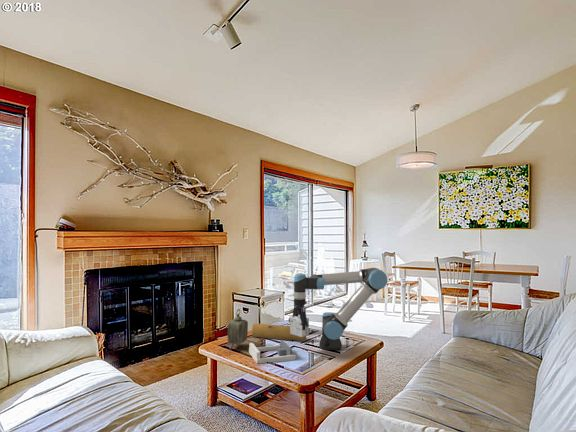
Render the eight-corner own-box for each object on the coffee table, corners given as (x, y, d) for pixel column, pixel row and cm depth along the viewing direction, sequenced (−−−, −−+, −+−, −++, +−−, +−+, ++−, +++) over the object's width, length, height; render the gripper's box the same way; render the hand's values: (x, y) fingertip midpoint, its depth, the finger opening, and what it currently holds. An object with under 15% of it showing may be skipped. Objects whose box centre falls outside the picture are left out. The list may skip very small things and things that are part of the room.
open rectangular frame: (284, 348, 233) (284, 339, 233) (295, 359, 214) (295, 349, 214) (248, 351, 225) (249, 342, 225) (257, 363, 206) (257, 353, 206)
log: (306, 339, 255) (306, 325, 256) (304, 343, 246) (304, 328, 246) (255, 334, 263) (255, 320, 264) (251, 338, 254) (252, 324, 254)
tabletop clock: (235, 343, 240) (236, 306, 241) (247, 344, 238) (248, 307, 239) (227, 350, 226) (228, 311, 227) (240, 352, 224) (241, 312, 225)
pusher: (282, 349, 231) (282, 339, 231) (291, 358, 215) (291, 348, 215) (273, 349, 229) (274, 340, 229) (282, 359, 213) (283, 349, 213)
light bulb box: (309, 335, 225) (309, 318, 225) (302, 337, 220) (302, 320, 220) (296, 331, 232) (296, 315, 232) (289, 334, 227) (289, 317, 228)
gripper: (287, 295, 237) (287, 327, 236) (301, 302, 214) (301, 338, 213) (298, 294, 239) (297, 326, 239) (312, 301, 217) (312, 337, 216)
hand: (299, 332), depth 226 cm, fingers closed on light bulb box, 12 cm apart
